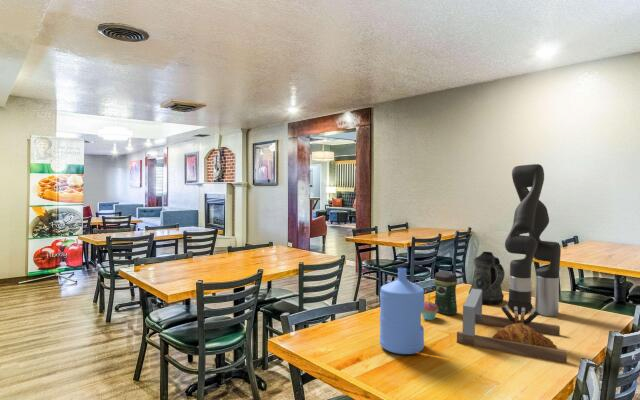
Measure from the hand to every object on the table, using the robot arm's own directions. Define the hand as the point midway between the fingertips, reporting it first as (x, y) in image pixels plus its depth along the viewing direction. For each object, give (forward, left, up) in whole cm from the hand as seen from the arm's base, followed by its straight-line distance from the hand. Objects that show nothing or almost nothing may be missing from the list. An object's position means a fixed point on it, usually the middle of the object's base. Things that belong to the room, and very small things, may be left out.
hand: (519, 333), depth 141 cm
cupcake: (-7, -35, -3) cm, 36 cm away
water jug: (+28, -37, -3) cm, 47 cm away
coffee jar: (-19, -30, -3) cm, 36 cm away
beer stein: (-49, -14, -3) cm, 51 cm away
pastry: (+7, +1, -3) cm, 8 cm away
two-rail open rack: (+1, -2, -2) cm, 3 cm away
